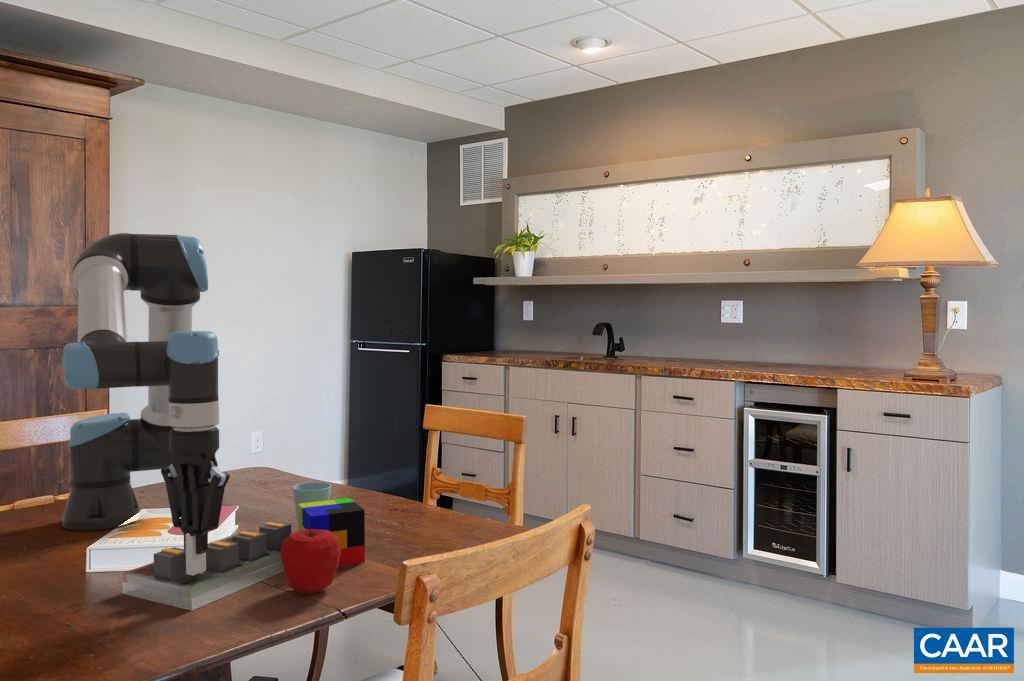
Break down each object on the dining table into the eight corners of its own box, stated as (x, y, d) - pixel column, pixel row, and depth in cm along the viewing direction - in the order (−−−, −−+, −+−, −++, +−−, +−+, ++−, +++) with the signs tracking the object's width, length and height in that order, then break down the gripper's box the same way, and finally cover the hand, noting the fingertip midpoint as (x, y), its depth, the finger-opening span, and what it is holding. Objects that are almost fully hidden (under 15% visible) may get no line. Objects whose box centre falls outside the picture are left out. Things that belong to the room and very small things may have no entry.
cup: (335, 538, 161) (334, 488, 161) (296, 542, 158) (296, 491, 158) (327, 528, 168) (327, 480, 168) (291, 532, 165) (290, 483, 165)
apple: (284, 605, 125) (283, 538, 125) (276, 585, 134) (276, 523, 134) (346, 596, 129) (346, 531, 129) (335, 578, 138) (334, 516, 138)
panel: (122, 593, 130) (122, 572, 130) (240, 550, 154) (240, 532, 153) (191, 610, 123) (191, 588, 123) (304, 562, 146) (304, 543, 146)
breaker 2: (203, 575, 133) (202, 544, 132) (221, 568, 136) (221, 538, 136) (220, 579, 131) (220, 548, 131) (238, 572, 135) (238, 541, 134)
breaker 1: (154, 584, 129) (153, 552, 128) (174, 576, 132) (173, 545, 132) (171, 588, 127) (170, 555, 127) (191, 580, 130) (190, 548, 130)
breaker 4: (259, 553, 144) (259, 525, 144) (274, 547, 148) (274, 520, 148) (276, 557, 143) (275, 528, 142) (291, 550, 146) (291, 522, 146)
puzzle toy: (310, 571, 142) (310, 516, 142) (298, 555, 151) (298, 503, 150) (364, 562, 147) (364, 509, 146) (349, 548, 156) (349, 498, 155)
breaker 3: (232, 564, 139) (232, 534, 138) (249, 557, 142) (248, 528, 142) (249, 567, 137) (249, 537, 137) (266, 561, 140) (265, 531, 140)
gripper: (145, 427, 126) (148, 573, 127) (205, 434, 120) (207, 586, 121) (184, 421, 132) (186, 559, 133) (242, 427, 127) (243, 571, 128)
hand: (196, 572), depth 127 cm, fingers closed
